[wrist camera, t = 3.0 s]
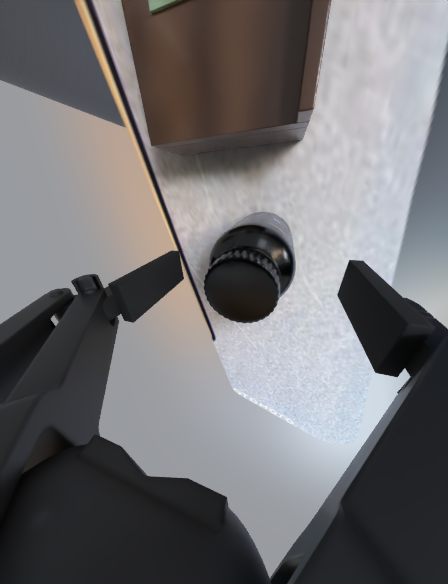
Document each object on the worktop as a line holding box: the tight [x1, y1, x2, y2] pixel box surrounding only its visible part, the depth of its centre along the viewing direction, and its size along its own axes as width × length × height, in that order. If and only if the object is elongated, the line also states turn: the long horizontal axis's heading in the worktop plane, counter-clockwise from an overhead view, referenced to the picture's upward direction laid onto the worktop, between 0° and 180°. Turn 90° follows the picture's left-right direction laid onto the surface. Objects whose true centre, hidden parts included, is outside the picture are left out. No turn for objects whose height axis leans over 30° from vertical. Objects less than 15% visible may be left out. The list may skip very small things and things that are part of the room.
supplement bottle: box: [204, 212, 295, 323], centre depth 15 cm, size 7×7×12 cm
